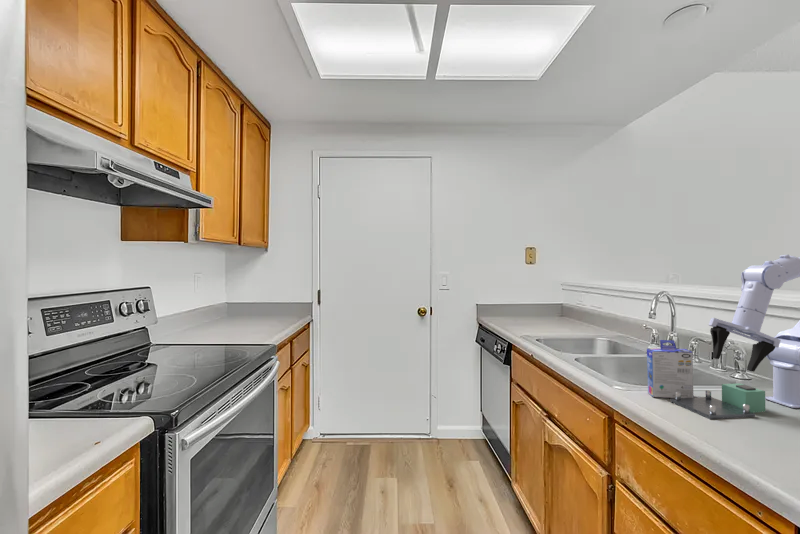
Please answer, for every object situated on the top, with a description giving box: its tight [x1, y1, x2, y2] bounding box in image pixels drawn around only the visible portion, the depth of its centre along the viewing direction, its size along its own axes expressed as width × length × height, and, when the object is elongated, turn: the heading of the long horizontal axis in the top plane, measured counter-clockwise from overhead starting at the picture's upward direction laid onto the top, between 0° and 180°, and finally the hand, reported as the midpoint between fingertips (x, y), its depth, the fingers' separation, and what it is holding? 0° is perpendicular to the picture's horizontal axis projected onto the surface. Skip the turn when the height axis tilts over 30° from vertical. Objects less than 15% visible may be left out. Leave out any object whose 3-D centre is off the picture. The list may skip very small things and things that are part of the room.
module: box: [721, 382, 766, 413], centre depth 110 cm, size 5×7×5 cm
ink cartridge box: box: [646, 339, 694, 399], centre depth 121 cm, size 10×6×14 cm, turn 78°
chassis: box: [670, 390, 756, 420], centre depth 109 cm, size 11×13×3 cm
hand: (732, 364), depth 110 cm, fingers open, 7 cm apart
